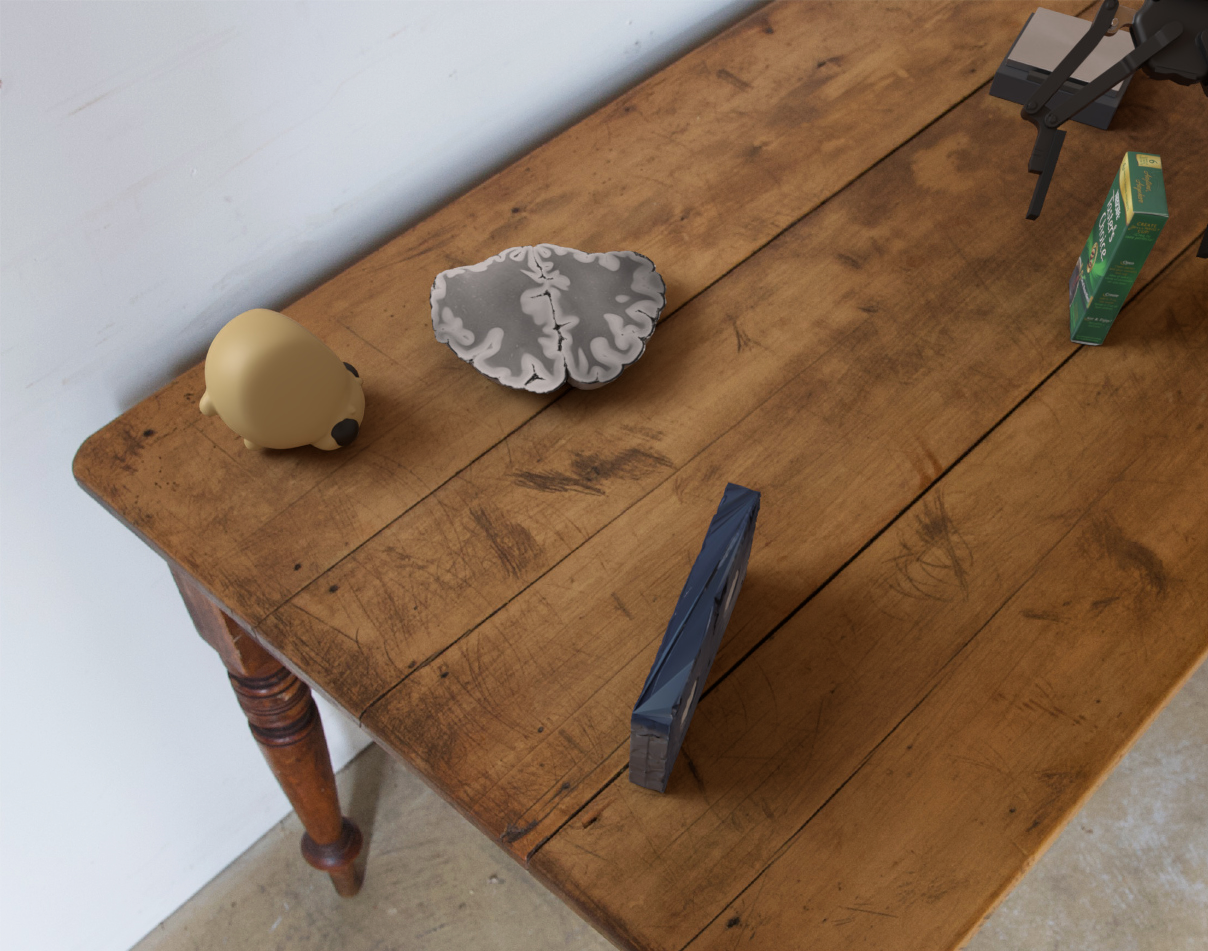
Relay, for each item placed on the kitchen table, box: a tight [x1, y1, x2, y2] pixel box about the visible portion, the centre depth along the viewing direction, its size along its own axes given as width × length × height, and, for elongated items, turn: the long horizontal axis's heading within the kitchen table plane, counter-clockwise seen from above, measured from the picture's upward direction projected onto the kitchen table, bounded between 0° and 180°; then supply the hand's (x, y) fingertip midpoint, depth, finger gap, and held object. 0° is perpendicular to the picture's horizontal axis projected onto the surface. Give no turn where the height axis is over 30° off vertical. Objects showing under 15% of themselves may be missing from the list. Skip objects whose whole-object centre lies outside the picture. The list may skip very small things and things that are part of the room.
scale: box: [988, 6, 1136, 131], centre depth 112 cm, size 12×12×3 cm
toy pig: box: [199, 307, 366, 452], centre depth 84 cm, size 10×12×11 cm
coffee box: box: [1068, 150, 1170, 347], centre depth 90 cm, size 8×3×13 cm, turn 168°
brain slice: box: [428, 242, 667, 394], centre depth 92 cm, size 20×17×3 cm
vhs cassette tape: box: [628, 482, 762, 794], centre depth 72 cm, size 18×3×10 cm, turn 157°
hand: (1117, 237), depth 89 cm, fingers open, 13 cm apart
